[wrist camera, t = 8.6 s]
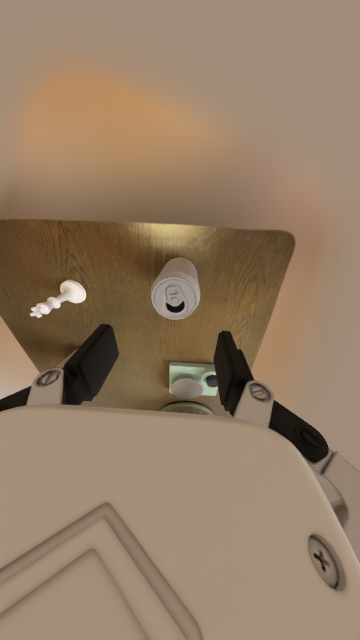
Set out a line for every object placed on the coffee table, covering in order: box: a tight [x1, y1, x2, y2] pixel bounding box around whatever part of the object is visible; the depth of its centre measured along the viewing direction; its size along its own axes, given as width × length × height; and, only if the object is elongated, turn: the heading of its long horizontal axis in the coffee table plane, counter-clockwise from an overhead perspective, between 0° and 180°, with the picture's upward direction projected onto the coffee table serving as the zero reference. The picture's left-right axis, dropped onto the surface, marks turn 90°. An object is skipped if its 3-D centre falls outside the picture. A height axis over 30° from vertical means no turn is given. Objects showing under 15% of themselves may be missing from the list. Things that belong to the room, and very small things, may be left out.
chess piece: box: [30, 280, 86, 318], centre depth 27 cm, size 5×5×10 cm
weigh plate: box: [171, 378, 203, 399], centre depth 42 cm, size 9×9×1 cm
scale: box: [169, 362, 218, 396], centre depth 42 cm, size 14×12×3 cm
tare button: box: [206, 375, 218, 388], centre depth 39 cm, size 3×3×2 cm
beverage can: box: [151, 257, 200, 320], centre depth 23 cm, size 6×6×12 cm
